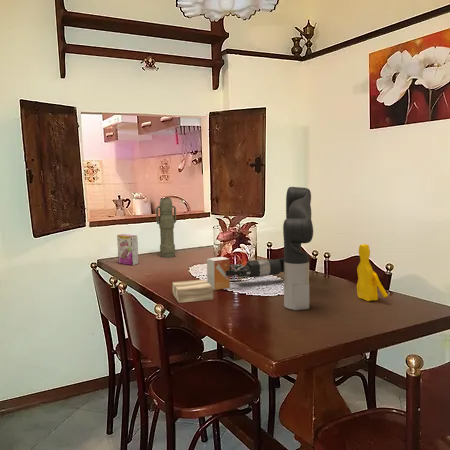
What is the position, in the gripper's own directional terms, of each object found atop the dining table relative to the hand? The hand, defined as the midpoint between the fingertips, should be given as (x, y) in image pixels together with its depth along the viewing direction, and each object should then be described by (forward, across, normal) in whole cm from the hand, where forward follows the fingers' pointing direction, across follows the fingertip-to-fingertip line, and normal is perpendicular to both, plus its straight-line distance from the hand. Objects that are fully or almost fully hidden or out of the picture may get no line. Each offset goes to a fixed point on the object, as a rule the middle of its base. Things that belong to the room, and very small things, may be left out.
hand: (223, 271), depth 203 cm
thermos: (+12, -81, +7) cm, 82 cm away
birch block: (+16, +10, +7) cm, 20 cm away
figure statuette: (-48, +38, +7) cm, 61 cm away
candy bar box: (+36, -67, +7) cm, 76 cm away
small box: (+2, 0, +7) cm, 8 cm away
